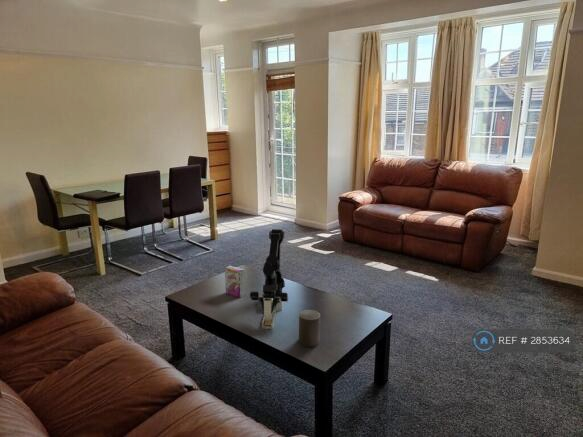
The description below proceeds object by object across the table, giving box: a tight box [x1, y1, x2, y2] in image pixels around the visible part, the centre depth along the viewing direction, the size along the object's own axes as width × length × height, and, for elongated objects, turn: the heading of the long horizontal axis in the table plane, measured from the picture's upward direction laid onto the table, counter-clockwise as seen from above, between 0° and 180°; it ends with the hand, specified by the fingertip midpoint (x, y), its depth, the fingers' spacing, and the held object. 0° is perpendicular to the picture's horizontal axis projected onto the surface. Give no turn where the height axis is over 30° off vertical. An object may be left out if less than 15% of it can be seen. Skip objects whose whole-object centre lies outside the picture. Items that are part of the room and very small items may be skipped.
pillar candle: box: [298, 309, 321, 348], centre depth 187 cm, size 10×10×15 cm
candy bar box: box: [224, 265, 246, 298], centre depth 236 cm, size 11×5×16 cm, turn 58°
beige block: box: [263, 298, 275, 325], centre depth 206 cm, size 12×4×13 cm, turn 175°
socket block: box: [264, 298, 284, 311], centre depth 220 cm, size 5×10×6 cm, turn 85°
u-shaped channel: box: [261, 310, 277, 330], centre depth 207 cm, size 14×5×3 cm, turn 175°
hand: (267, 313), depth 200 cm, fingers closed on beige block, 3 cm apart
